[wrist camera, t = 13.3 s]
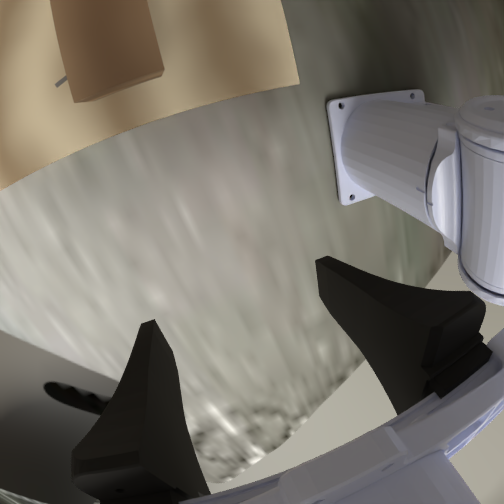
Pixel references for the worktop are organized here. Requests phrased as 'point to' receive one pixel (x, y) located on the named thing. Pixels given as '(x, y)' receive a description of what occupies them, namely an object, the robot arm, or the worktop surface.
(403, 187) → the robot arm
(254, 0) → the board
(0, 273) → the worktop surface
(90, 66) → the block
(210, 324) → the worktop surface
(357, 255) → the worktop surface
